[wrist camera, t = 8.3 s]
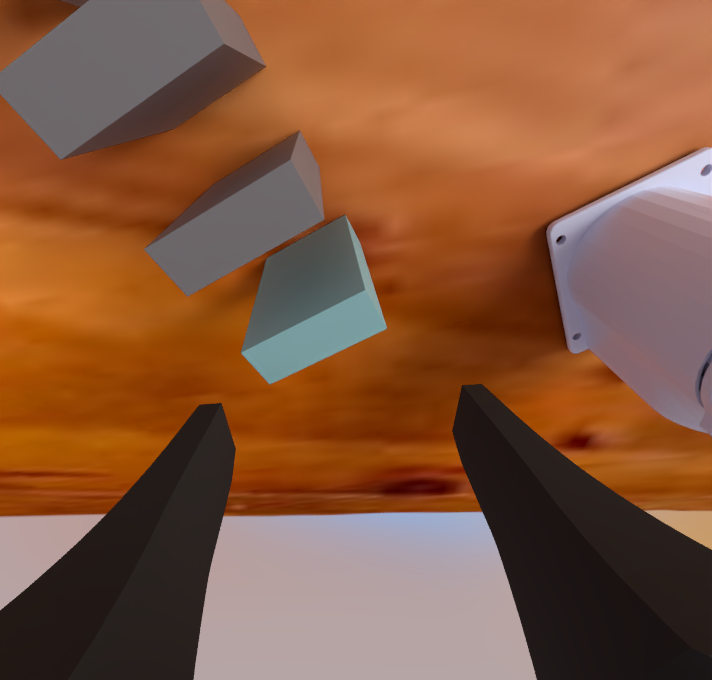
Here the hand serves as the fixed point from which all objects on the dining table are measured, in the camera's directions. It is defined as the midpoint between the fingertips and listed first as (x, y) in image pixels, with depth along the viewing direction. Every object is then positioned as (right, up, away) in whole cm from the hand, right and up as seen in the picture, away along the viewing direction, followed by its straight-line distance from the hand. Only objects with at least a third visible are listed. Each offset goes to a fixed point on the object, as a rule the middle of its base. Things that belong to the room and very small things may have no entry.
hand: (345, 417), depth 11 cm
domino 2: (-4, +10, +5) cm, 12 cm away
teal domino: (-2, +7, +7) cm, 10 cm away
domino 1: (-5, +12, +3) cm, 14 cm away
